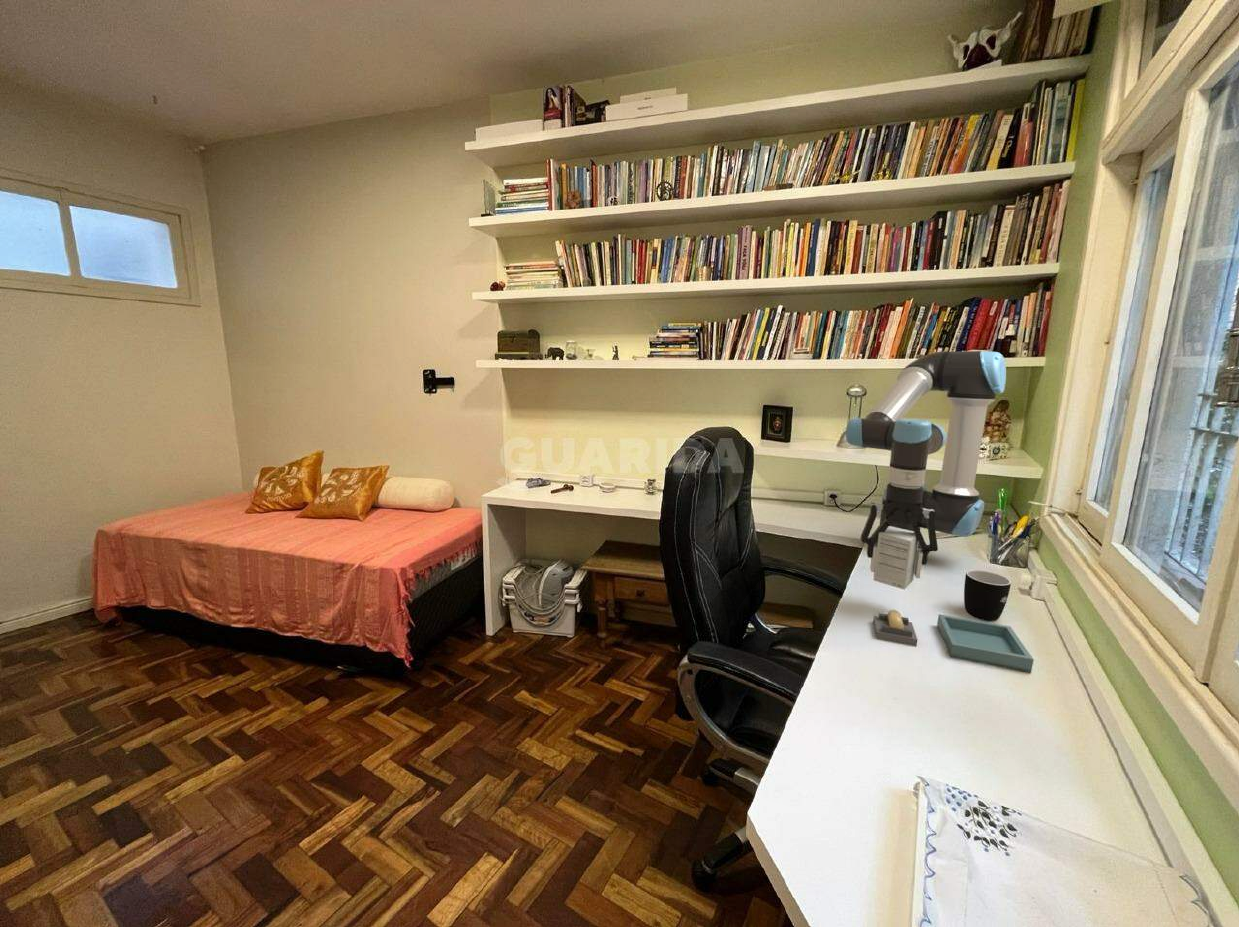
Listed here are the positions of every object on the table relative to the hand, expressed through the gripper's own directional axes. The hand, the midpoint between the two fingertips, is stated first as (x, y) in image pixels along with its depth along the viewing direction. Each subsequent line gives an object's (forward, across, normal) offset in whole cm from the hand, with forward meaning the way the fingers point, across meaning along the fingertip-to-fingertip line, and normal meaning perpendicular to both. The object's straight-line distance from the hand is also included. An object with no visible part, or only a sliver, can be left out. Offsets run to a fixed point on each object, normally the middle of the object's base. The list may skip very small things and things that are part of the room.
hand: (894, 572), depth 124 cm
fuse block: (+10, 0, -12) cm, 15 cm away
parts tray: (+10, +17, -11) cm, 22 cm away
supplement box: (+2, 0, 0) cm, 2 cm away
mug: (+11, +22, +8) cm, 26 cm away
